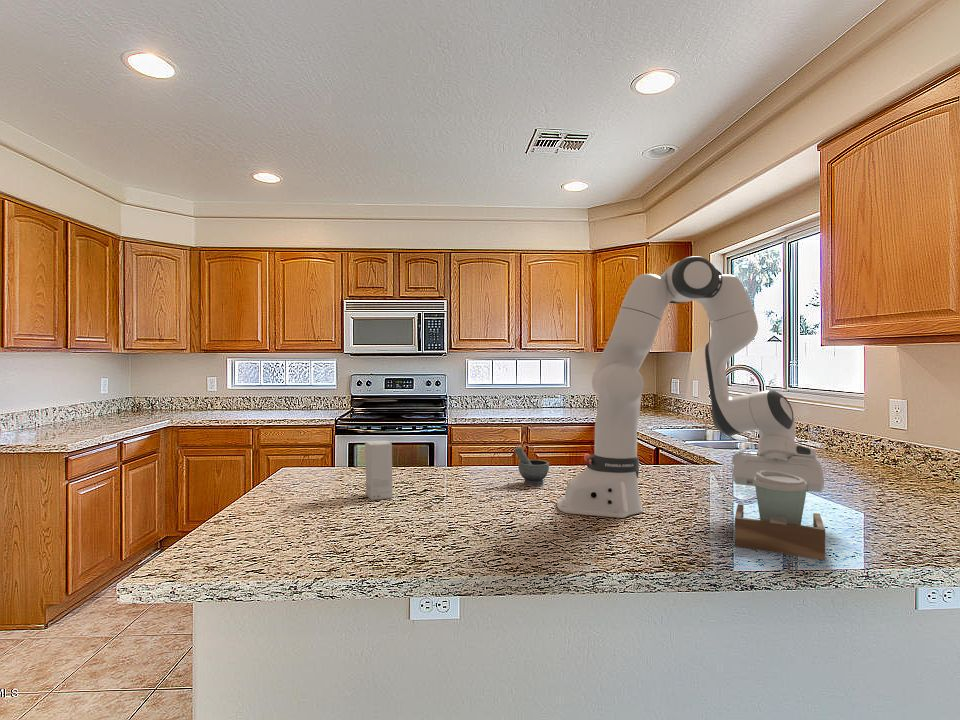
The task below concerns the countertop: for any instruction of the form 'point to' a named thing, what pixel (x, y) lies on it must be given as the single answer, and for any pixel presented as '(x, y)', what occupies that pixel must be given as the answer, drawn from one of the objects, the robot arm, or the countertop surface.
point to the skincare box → (378, 470)
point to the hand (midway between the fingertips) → (776, 501)
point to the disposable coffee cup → (780, 495)
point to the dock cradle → (780, 535)
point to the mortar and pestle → (531, 469)
